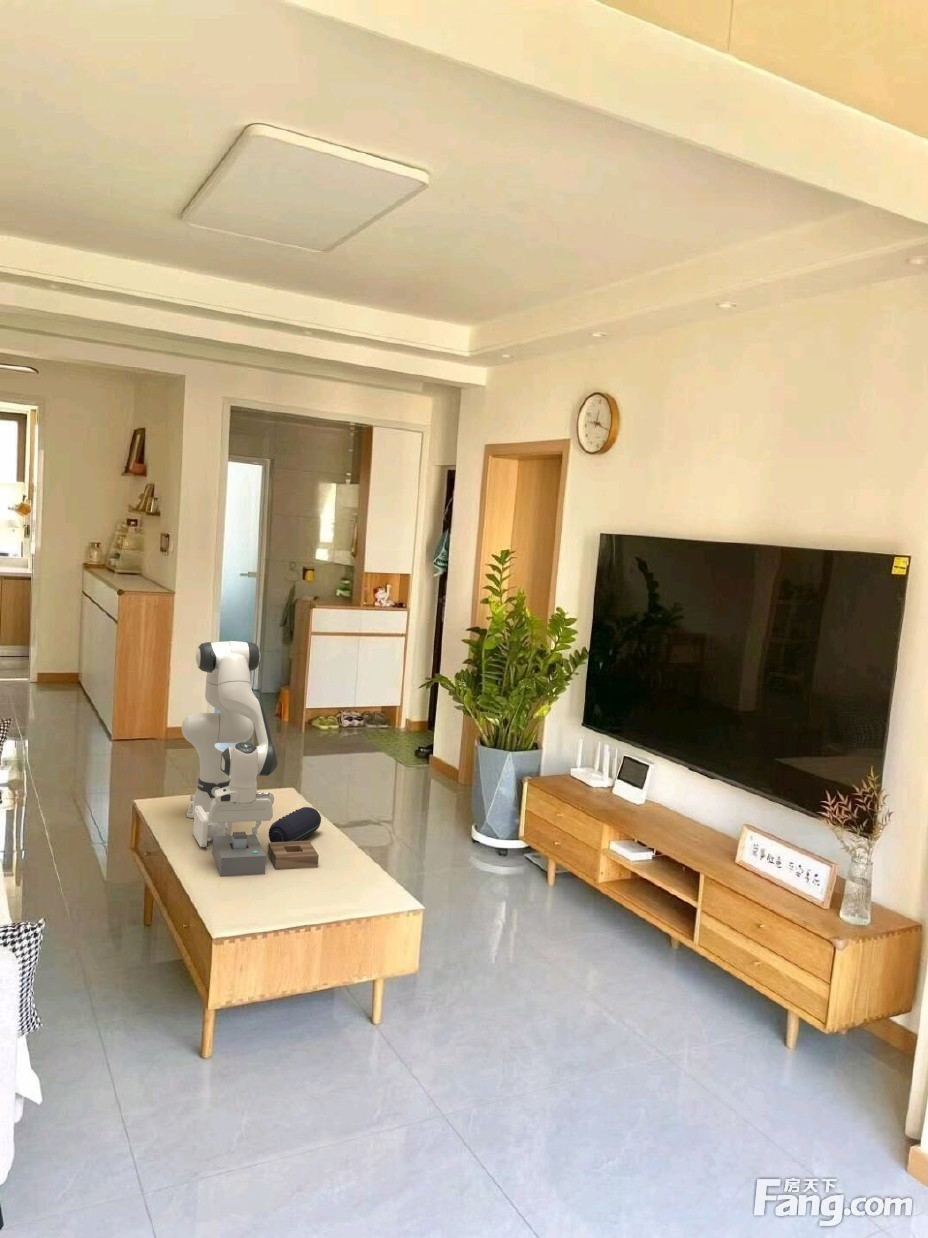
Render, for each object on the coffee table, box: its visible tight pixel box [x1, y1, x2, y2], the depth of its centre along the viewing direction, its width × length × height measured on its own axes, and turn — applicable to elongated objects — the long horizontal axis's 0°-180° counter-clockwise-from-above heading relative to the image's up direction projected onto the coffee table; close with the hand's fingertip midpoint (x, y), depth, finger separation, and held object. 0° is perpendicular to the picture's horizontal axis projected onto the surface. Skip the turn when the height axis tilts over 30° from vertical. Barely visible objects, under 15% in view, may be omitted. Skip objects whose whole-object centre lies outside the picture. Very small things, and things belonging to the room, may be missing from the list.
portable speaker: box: [268, 806, 322, 842], centre depth 340 cm, size 25×10×10 cm, turn 160°
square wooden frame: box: [267, 840, 319, 870], centre depth 322 cm, size 14×14×4 cm
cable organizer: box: [192, 806, 232, 848], centre depth 331 cm, size 15×11×12 cm
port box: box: [211, 834, 267, 877], centre depth 315 cm, size 20×14×6 cm
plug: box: [232, 831, 248, 849], centre depth 314 cm, size 4×4×10 cm
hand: (239, 833), depth 314 cm, fingers open, 8 cm apart
